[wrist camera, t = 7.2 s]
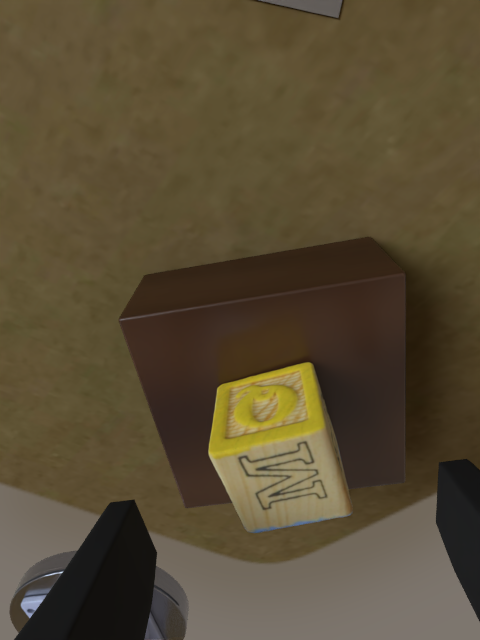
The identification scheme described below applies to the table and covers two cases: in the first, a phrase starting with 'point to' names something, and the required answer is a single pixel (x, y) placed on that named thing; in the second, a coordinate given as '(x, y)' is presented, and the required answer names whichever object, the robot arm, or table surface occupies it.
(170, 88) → the table surface
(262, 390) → the alphabet block
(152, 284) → the stand
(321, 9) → the platform
